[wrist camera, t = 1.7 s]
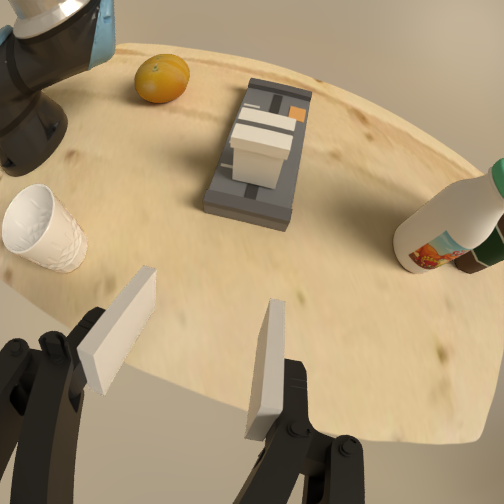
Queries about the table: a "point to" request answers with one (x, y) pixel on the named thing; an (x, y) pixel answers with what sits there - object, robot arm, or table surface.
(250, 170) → the fader knob
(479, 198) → the milk bottle
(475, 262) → the beer bottle
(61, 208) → the white cup
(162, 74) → the fruit
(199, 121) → the table surface
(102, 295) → the table surface
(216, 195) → the slider console
